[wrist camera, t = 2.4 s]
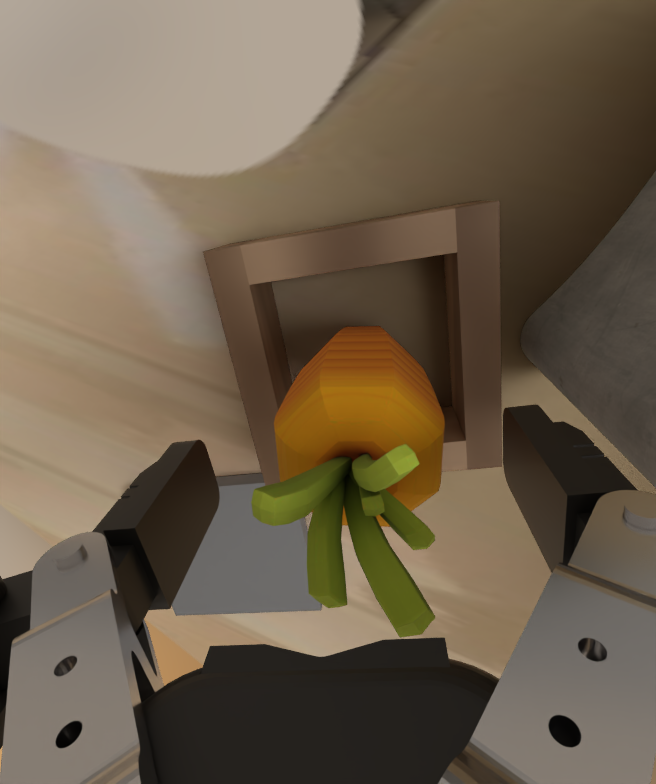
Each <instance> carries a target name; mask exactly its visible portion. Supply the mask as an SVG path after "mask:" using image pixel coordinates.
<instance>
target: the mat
mask: <svg viewBox="0 0 656 784" xmlns="http://www.w3.org/2000/svg"><path fill="white" fill-rule="evenodd" d="M216 480H217V483H218V487H219V493H220V500H219V506H218V509H217V511H216V513H215V516H214V518H213V520H212V522H211V524H210V526H209V528H208V530H207V532H206V534H205V536H204V539H203V541H202V543H201V545H200V547H199V549H198V551H197V553H196V555H195V557H194V559H193V561H192V564H191V566H190V568H189V570H188V572H187V574H186V576H185V578H184V580H183V582H182V584H181V587H180V589H179V591H178V593H177V595H176V597H175V599H174V601H173V603H172V607H173V610H174V612H175V614H176V616H177V615H205V614H233V613H260V612H288V611H316V610H321V608H322V604H321V603H320V602H318V601H317V600H316V599H314V598H313V597H312V596H311V595H310V594H309V591H308V577H307V536H308V531H307V526H306V522H305V518H304V517H303V518H301V519H299V520H296V521H294V522H292V523H290V524H285V525H278V526H272V525H268V524H265V523H262V522H260V521H259V520H258V519H256V518H255V517H254V516H253V511H252V504H251V501H252V496H253V491H254V489H256V488H259V487H263V486H265V483H264V479H263V475H262V473H256V474H245V475H233V476H222V477H216Z"/></svg>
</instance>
